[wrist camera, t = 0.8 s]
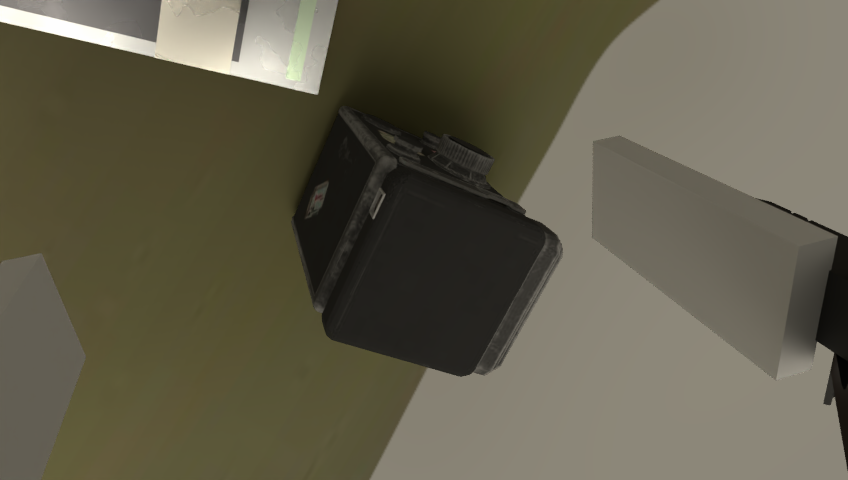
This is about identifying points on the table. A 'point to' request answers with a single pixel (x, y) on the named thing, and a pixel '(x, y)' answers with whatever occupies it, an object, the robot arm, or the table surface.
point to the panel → (254, 47)
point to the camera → (418, 248)
